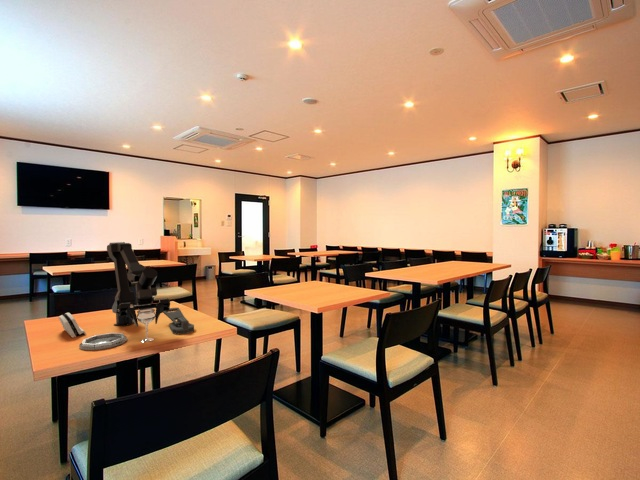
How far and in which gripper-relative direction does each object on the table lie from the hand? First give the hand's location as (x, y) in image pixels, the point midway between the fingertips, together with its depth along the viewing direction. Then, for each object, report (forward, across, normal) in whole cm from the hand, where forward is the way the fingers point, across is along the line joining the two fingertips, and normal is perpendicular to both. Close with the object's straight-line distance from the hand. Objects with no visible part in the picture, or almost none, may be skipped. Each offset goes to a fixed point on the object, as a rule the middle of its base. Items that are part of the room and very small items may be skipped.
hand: (146, 324), depth 138 cm
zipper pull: (-5, +14, +15) cm, 21 cm away
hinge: (-17, -27, +27) cm, 42 cm away
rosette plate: (0, -15, +9) cm, 18 cm away
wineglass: (+4, 0, +6) cm, 7 cm away
